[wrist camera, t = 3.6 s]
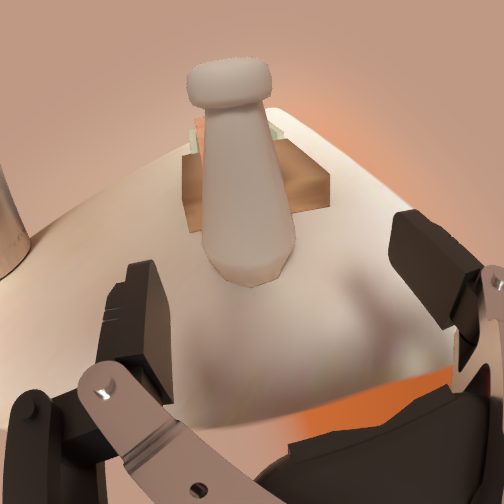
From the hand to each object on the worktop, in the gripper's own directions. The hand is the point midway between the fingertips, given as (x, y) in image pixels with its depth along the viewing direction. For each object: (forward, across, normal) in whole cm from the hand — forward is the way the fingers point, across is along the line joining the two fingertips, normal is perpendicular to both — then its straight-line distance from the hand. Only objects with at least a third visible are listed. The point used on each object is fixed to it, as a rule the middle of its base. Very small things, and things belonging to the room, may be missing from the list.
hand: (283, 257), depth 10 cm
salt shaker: (+9, 0, +7) cm, 11 cm away
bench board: (+21, -2, +7) cm, 22 cm away
